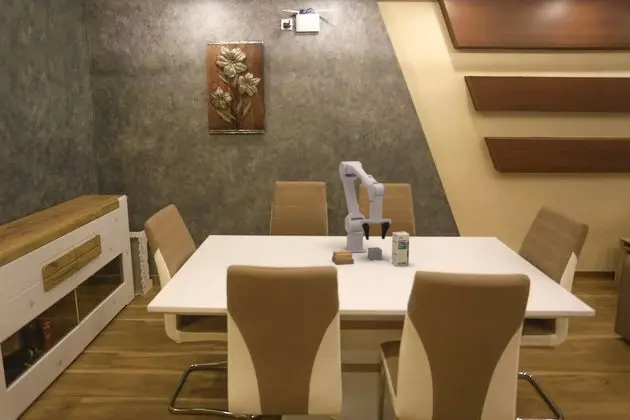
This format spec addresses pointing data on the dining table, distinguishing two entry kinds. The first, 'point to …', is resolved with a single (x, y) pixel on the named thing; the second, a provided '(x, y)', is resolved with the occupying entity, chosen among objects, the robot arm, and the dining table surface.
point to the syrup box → (400, 248)
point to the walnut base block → (342, 261)
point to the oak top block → (342, 255)
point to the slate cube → (374, 253)
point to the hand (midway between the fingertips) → (375, 239)
